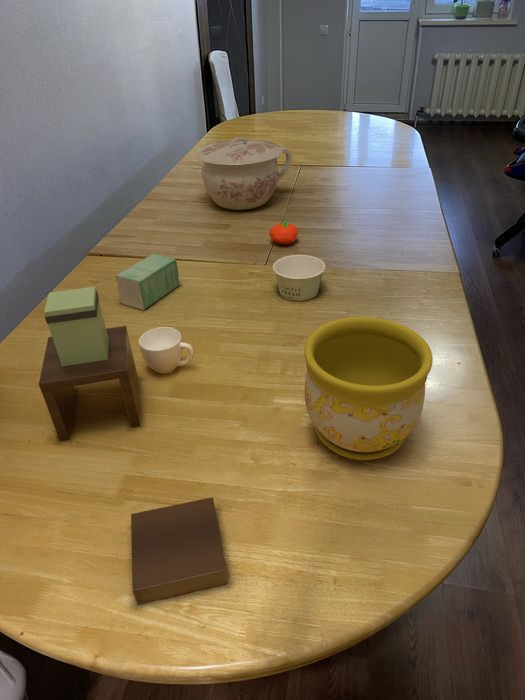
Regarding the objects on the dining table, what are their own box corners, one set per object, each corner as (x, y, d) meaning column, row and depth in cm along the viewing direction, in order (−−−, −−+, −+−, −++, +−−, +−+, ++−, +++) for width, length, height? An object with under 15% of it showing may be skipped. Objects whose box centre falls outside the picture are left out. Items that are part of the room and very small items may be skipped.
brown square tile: (228, 583, 63) (226, 569, 61) (137, 605, 61) (132, 591, 60) (215, 510, 72) (213, 496, 70) (134, 527, 70) (130, 513, 68)
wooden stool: (140, 426, 86) (126, 369, 79) (59, 441, 84) (38, 384, 77) (138, 379, 97) (126, 325, 90) (66, 391, 94) (48, 337, 87)
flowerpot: (438, 430, 83) (457, 347, 73) (371, 495, 73) (383, 409, 63) (349, 381, 94) (355, 303, 84) (280, 433, 84) (278, 351, 74)
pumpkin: (269, 237, 147) (269, 216, 144) (297, 237, 147) (297, 215, 143) (269, 248, 142) (268, 226, 138) (298, 247, 141) (298, 225, 137)
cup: (153, 353, 103) (147, 325, 99) (201, 357, 101) (197, 329, 97) (138, 378, 97) (132, 348, 93) (189, 382, 95) (185, 352, 91)
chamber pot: (186, 214, 164) (178, 147, 152) (219, 187, 185) (214, 125, 173) (270, 222, 157) (268, 151, 145) (294, 192, 178) (294, 128, 166)
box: (181, 284, 126) (176, 256, 122) (145, 311, 117) (139, 281, 112) (157, 279, 129) (152, 251, 125) (120, 304, 120) (113, 275, 116)
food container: (267, 300, 119) (266, 274, 115) (281, 276, 128) (280, 252, 124) (318, 306, 115) (319, 280, 112) (329, 281, 125) (330, 257, 121)
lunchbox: (108, 360, 81) (94, 305, 76) (61, 367, 80) (43, 312, 74) (109, 338, 86) (95, 285, 81) (64, 345, 85) (47, 292, 79)
